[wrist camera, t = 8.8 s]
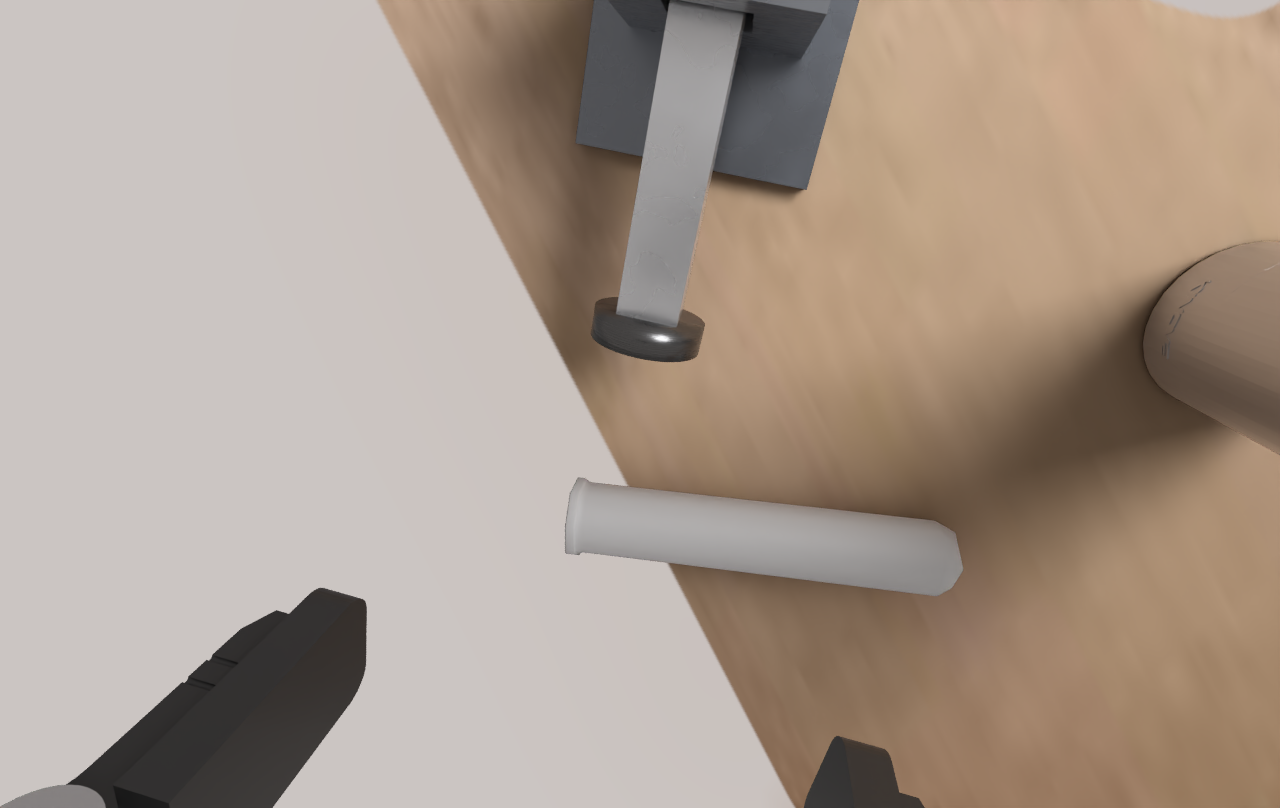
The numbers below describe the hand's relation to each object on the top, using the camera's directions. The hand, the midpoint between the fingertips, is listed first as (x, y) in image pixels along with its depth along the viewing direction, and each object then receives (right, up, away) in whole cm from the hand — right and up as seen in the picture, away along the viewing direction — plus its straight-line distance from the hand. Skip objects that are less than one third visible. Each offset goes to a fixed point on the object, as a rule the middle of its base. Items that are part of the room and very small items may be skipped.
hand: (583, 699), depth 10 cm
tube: (+9, -3, +32) cm, 33 cm away
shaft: (+3, +17, +20) cm, 27 cm away
